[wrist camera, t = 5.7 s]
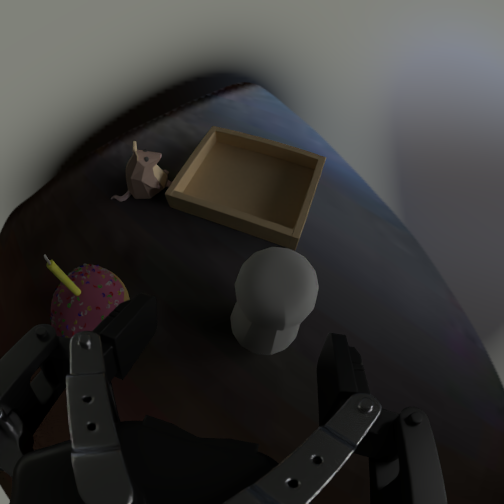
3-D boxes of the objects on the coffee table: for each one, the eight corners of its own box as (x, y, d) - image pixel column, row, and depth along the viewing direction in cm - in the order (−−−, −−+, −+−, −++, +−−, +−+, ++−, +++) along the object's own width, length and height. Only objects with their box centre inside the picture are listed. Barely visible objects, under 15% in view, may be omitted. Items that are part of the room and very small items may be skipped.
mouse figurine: (109, 184, 32) (89, 149, 26) (166, 163, 33) (154, 124, 27) (112, 215, 30) (88, 181, 24) (174, 193, 31) (160, 153, 25)
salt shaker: (220, 335, 25) (193, 298, 13) (252, 284, 27) (256, 209, 15) (275, 367, 23) (303, 363, 12) (306, 314, 25) (354, 261, 14)
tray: (169, 207, 30) (164, 193, 28) (214, 140, 35) (212, 125, 32) (295, 250, 28) (299, 239, 26) (321, 171, 33) (326, 157, 30)
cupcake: (86, 278, 27) (19, 225, 16) (155, 287, 26) (100, 228, 15) (72, 354, 23) (-10, 332, 12) (142, 372, 23) (70, 366, 12)
